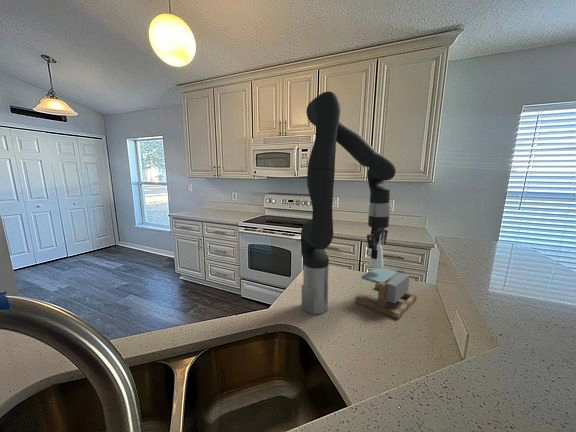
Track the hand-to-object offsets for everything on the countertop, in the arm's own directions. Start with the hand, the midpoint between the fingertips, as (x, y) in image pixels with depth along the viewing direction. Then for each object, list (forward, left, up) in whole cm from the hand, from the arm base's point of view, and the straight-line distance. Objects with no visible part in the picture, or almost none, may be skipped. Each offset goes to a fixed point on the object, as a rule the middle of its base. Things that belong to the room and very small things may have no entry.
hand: (376, 256), depth 97 cm
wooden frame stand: (0, -5, -17) cm, 18 cm away
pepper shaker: (0, 0, -4) cm, 4 cm away
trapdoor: (0, -4, -13) cm, 14 cm away
